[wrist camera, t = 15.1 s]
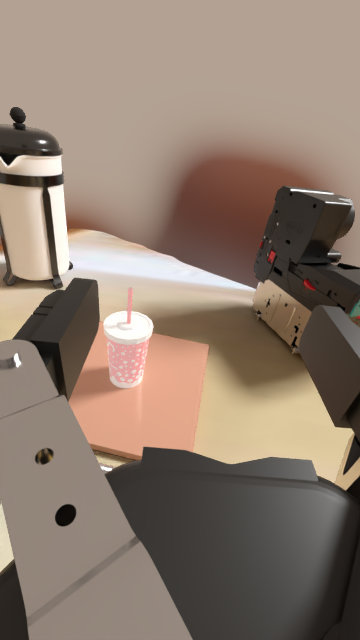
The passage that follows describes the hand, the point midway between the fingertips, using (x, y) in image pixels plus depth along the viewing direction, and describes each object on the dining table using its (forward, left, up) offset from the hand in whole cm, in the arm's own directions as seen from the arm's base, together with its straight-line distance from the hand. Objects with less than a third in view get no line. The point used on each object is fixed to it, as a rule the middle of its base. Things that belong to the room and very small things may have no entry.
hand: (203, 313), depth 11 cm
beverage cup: (+9, -19, -25) cm, 32 cm away
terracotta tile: (+9, -19, -26) cm, 33 cm away
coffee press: (+37, -44, -26) cm, 63 cm away
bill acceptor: (-18, -41, -26) cm, 52 cm away
